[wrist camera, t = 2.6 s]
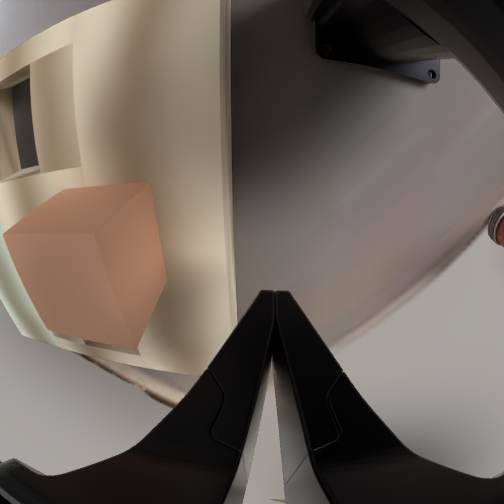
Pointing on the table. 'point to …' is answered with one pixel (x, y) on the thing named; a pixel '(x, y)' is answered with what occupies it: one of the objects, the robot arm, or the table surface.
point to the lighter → (497, 226)
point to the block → (92, 261)
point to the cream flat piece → (131, 158)
